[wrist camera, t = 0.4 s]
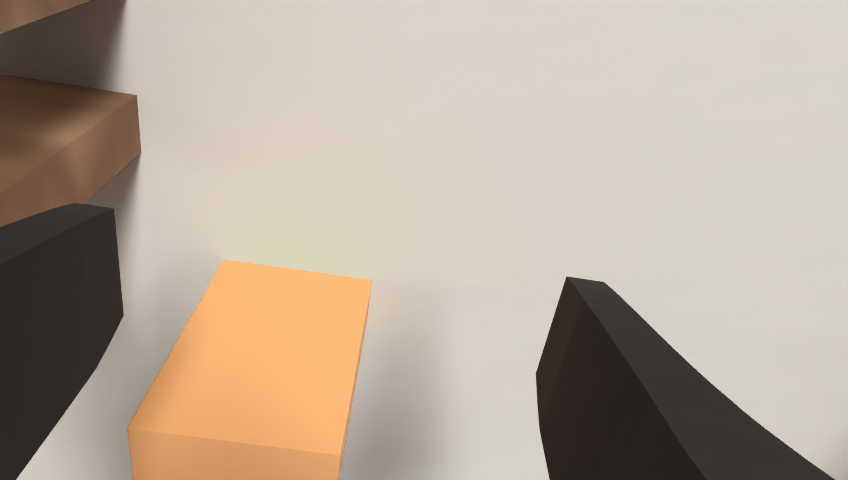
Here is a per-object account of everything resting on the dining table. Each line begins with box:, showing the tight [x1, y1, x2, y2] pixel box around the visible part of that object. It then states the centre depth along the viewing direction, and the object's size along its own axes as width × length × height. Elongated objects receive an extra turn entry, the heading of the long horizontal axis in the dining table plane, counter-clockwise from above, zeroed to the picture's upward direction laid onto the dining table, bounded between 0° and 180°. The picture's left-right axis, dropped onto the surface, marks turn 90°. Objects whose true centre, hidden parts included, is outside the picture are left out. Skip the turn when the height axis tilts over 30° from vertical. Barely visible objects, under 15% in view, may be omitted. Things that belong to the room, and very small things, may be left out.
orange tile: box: [127, 260, 372, 480], centre depth 19 cm, size 2×5×8 cm, turn 81°
